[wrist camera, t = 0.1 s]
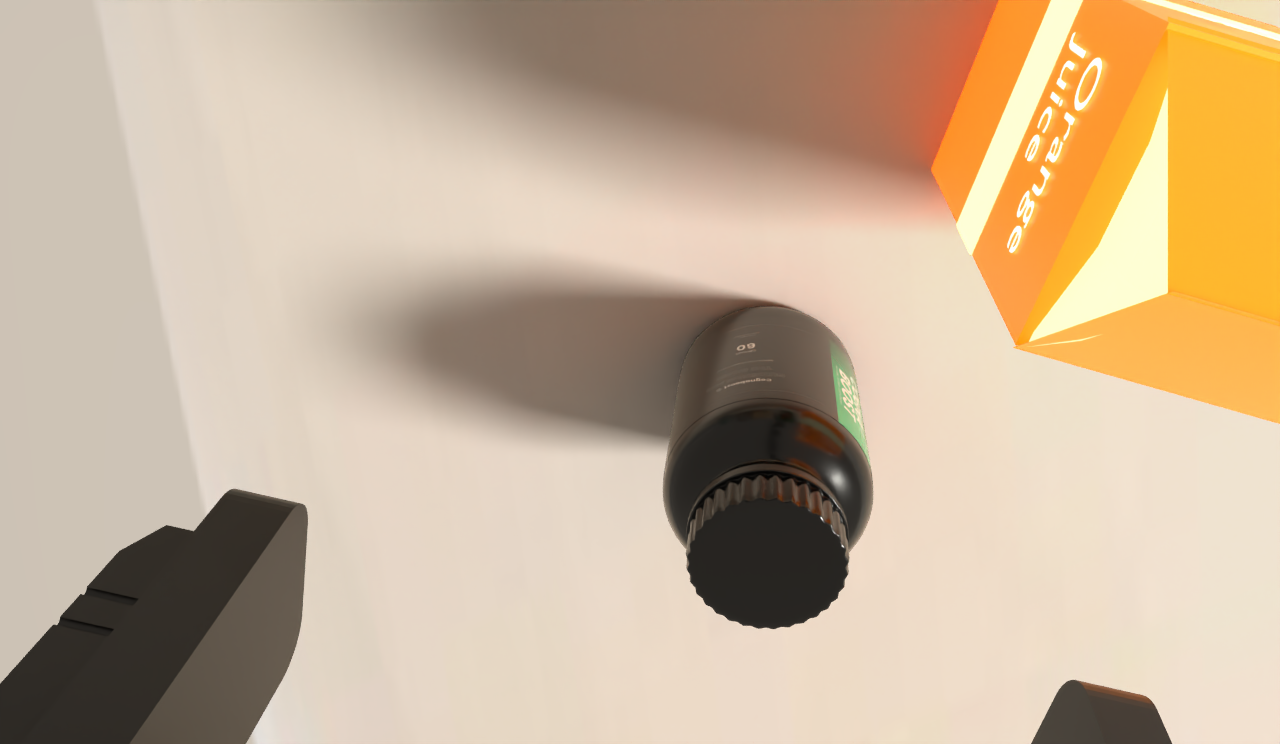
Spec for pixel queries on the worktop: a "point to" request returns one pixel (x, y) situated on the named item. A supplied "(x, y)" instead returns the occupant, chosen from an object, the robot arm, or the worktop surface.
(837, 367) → the supplement bottle
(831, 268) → the worktop surface
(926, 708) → the worktop surface
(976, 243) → the orange juice
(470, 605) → the worktop surface
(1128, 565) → the worktop surface
